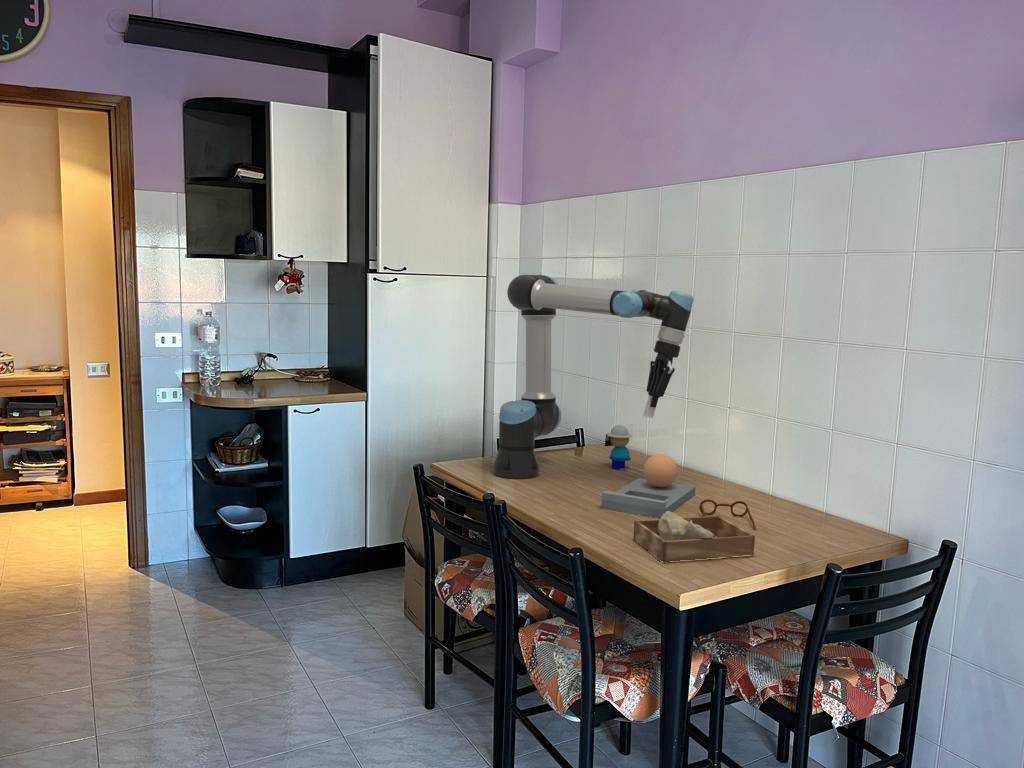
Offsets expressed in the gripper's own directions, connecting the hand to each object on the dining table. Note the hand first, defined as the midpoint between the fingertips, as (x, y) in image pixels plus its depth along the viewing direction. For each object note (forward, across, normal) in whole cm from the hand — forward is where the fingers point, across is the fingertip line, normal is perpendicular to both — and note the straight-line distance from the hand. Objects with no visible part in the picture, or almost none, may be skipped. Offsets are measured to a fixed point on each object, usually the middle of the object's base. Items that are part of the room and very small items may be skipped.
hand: (648, 416), depth 244 cm
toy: (+23, +26, -7) cm, 35 cm away
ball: (+14, -8, -5) cm, 17 cm away
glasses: (+20, -37, -13) cm, 44 cm away
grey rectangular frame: (+22, -14, -1) cm, 27 cm away
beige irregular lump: (+23, -56, +6) cm, 60 cm away
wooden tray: (+22, -55, +5) cm, 59 cm away
